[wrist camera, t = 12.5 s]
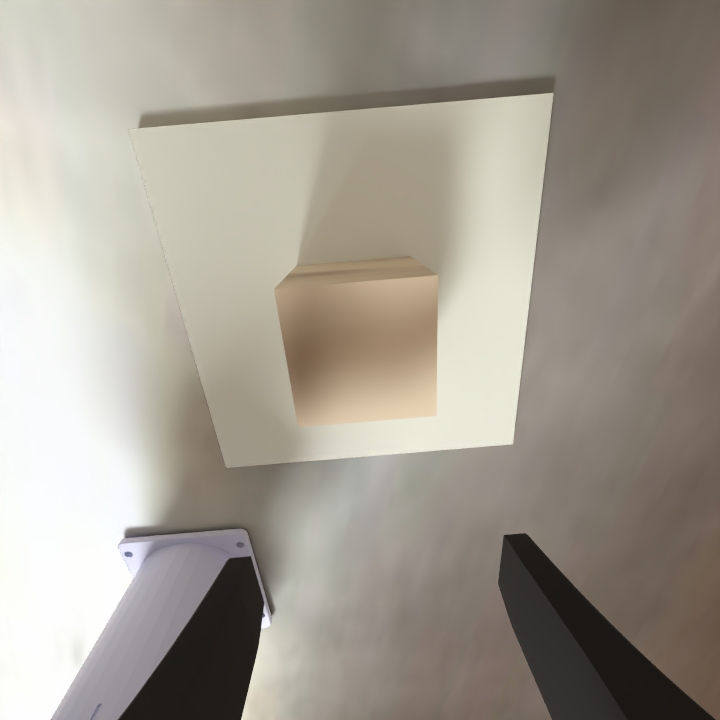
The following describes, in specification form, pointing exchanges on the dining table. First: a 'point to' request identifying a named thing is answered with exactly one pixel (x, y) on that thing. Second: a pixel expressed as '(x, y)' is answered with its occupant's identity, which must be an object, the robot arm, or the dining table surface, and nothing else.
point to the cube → (360, 340)
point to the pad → (352, 255)
